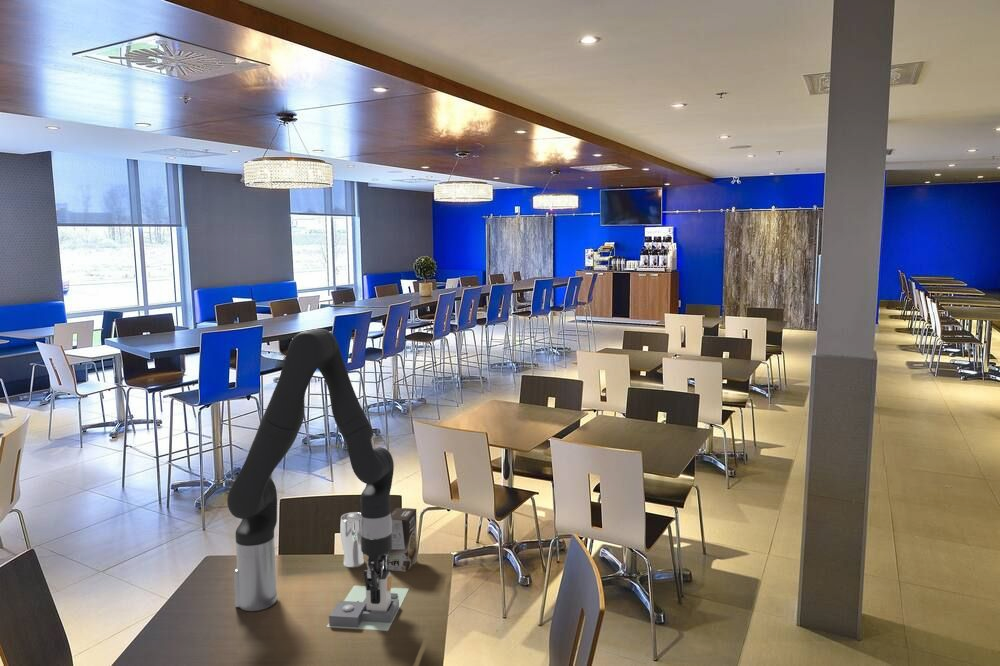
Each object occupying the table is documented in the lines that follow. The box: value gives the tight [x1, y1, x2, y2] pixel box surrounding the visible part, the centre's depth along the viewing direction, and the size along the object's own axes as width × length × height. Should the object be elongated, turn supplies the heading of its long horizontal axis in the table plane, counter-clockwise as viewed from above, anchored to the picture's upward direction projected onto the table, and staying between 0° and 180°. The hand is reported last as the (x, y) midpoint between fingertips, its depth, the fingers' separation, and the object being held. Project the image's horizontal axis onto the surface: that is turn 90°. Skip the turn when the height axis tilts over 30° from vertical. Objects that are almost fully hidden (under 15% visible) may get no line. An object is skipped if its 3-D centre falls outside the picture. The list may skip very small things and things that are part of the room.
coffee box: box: [388, 507, 418, 573], centre depth 189 cm, size 9×6×16 cm
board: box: [326, 585, 410, 632], centre depth 166 cm, size 15×20×3 cm
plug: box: [366, 570, 393, 611], centre depth 162 cm, size 6×4×8 cm
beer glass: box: [339, 511, 365, 568], centre depth 190 cm, size 7×7×15 cm
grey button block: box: [328, 600, 367, 628], centre depth 163 cm, size 7×11×3 cm, turn 174°
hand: (378, 598), depth 163 cm, fingers closed on plug, 4 cm apart
